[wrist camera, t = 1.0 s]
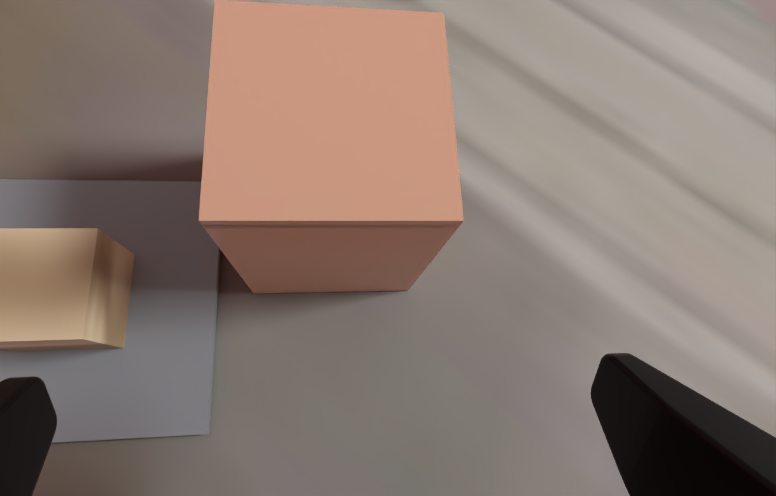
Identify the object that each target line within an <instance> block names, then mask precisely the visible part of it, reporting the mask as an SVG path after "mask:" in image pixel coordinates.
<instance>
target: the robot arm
mask: <svg viewBox="0 0 776 496" xmlns="http://www.w3.org/2000/svg"><path fill="white" fill-rule="evenodd" d="M591 399H592V403H593V406H594V408H595V411H596V413H597V416H598V419H599V421H600V424H601V426H602V429H603V431H604V434H605V436H606V439H607V442H608V444H609V447H610V449H611V452H612V454H613V457H614V459H615V462H616V465H617V467H618V470H619V472H620V475H621V477H622V479H623V482H624V484H625V486H626V488H627V490H628V493H629V495H630V496H776V438H775V437H774V436H772V435H770V434H768V433H767V432H765V431H763V430H761V429H760V428H758V427H756V426H755V425H753V424H751V423H749V422H748V421H746V420H744V419H742V418H741V417H739V416H737V415H735V414H734V413H732V412H730V411H728V410H727V409H725V408H723V407H722V406H720V405H718V404H716V403H715V402H713V401H711V400H709V399H708V398H706V397H704V396H702V395H701V394H699V393H697V392H696V391H694V390H692V389H690V388H689V387H687V386H685V385H683V384H682V383H680V382H678V381H676V380H675V379H673V378H671V377H669V376H668V375H666V374H664V373H663V372H661V371H659V370H657V369H656V368H654V367H652V366H650V365H649V364H647V363H645V362H643V361H642V360H640V359H638V358H637V357H635V356H633V355H631V354H628V353H611V354H606V355H604V356H603V357H602V359H601V361H600V364H599V367H598V370H597V373H596V376H595V379H594V381H593V384H592V388H591ZM56 427H57V415H56V412H55V409H54V406H53V404H52V401H51V398H50V396H49V393H48V391H47V388H46V385H45V383H44V381H43V380H42V379H41V378H39V377H36V376H29V377H11V378H7V379H4V380H3V381H1V382H0V496H32V494H33V491H34V489H35V486H36V483H37V480H38V478H39V475H40V472H41V470H42V467H43V464H44V461H45V459H46V456H47V453H48V451H49V448H50V445H51V443H52V440H53V437H54V434H55V431H56Z"/></svg>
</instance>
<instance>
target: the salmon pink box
mask: <svg viewBox="0 0 776 496" xmlns="http://www.w3.org/2000/svg"><path fill="white" fill-rule="evenodd" d="M463 221H464V219H463V209H462V198H461V188H460V177H459V166H458V156H457V145H456V135H455V124H454V113H453V103H452V92H451V81H450V71H449V60H448V50H447V39H446V28H445V18H444V13H437V12H419V11H402V10H385V9H367V8H350V7H333V6H315V5H298V4H281V3H263V2H246V1H229V0H215V5H214V18H213V32H212V45H211V59H210V72H209V86H208V100H207V113H206V127H205V140H204V154H203V167H202V181H201V195H200V208H199V222H200V223H201V225H202V226H203V227H204V229H205V230H206V231H207V232H208V234H209V235H210V236H211V238H212V239H213V240H214V242H215V243H216V244H217V246H218V247H219V248H220V250H221V251H222V252H223V254H224V255H225V256H226V258H227V259H228V260H229V262H230V263H231V264H232V266H233V267H234V268H235V270H236V271H237V272H238V274H239V275H240V276H241V278H242V279H243V280H244V281H245V283H246V284H247V285H248V287H249V288H250V289H251V291H252V292H253V293H297V292H350V291H403V290H409V289H410V287H411V286H412V285H413V284H414V282H415V281H416V280H417V279H418V277H419V276H420V275H421V274H422V272H423V271H424V270H425V269H426V267H427V266H428V265H429V264H430V262H431V261H432V260H433V259H434V257H435V256H436V255H437V253H438V252H439V251H440V250H441V248H442V247H443V246H444V245H445V243H446V242H447V241H448V240H449V238H450V237H451V236H452V235H453V233H454V232H455V231H456V230H457V228H458V227H459V226H460V225H461V223H462V222H463Z"/></svg>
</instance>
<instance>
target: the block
mask: <svg viewBox="0 0 776 496" xmlns="http://www.w3.org/2000/svg"><path fill="white" fill-rule="evenodd" d="M134 257H135V254H133V253H132V252H131V251H129V250H128V249H126V248H125V247H123V246H122V245H121V244H119V243H118V242H116V241H115V240H114V239H112V238H111V237H109V236H108V235H107V234H105V233H104V232H102V231H101V230H100V229H98V228H0V349H3V350H10V351H49V350H80V349H111V348H124V347H125V338H126V329H127V320H128V311H129V302H130V293H131V284H132V275H133V266H134Z"/></svg>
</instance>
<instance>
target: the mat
mask: <svg viewBox="0 0 776 496" xmlns="http://www.w3.org/2000/svg"><path fill="white" fill-rule="evenodd" d="M200 195H201V181H121V180H25V179H0V228H98V229H100V230H101V231H102V232H104V233H105V234H107V235H108V236H109V237H111V238H112V239H114V240H115V241H116V242H118V243H119V244H121V245H122V246H123V247H125V248H126V249H128V250H129V251H131V252H132V253H133V254H135V257H134V266H133V275H132V284H131V293H130V302H129V311H128V320H127V329H126V338H125V347H124V348H111V349H80V350H49V351H10V350H3V349H0V382H1V381H3V380H4V379H7V378H11V377H29V376H36V377H39V378H41V379H42V380H43V381H44V383H45V385H46V388H47V391H48V393H49V396H50V398H51V401H52V404H53V406H54V409H55V412H56V415H57V427H56V431H55V434H54V437H53V440H52V443H57V442H75V441H93V440H111V439H129V438H147V437H165V436H183V435H201V434H209V433H210V421H211V404H212V387H213V370H214V353H215V336H216V319H217V302H218V285H219V268H220V251H221V250H220V248H219V247H218V246H217V244H216V243H215V242H214V240H213V239H212V238H211V236H210V235H209V234H208V232H207V231H206V230H205V229H204V227H203V226H202V225H201V223H200V222H199V208H200Z"/></svg>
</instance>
